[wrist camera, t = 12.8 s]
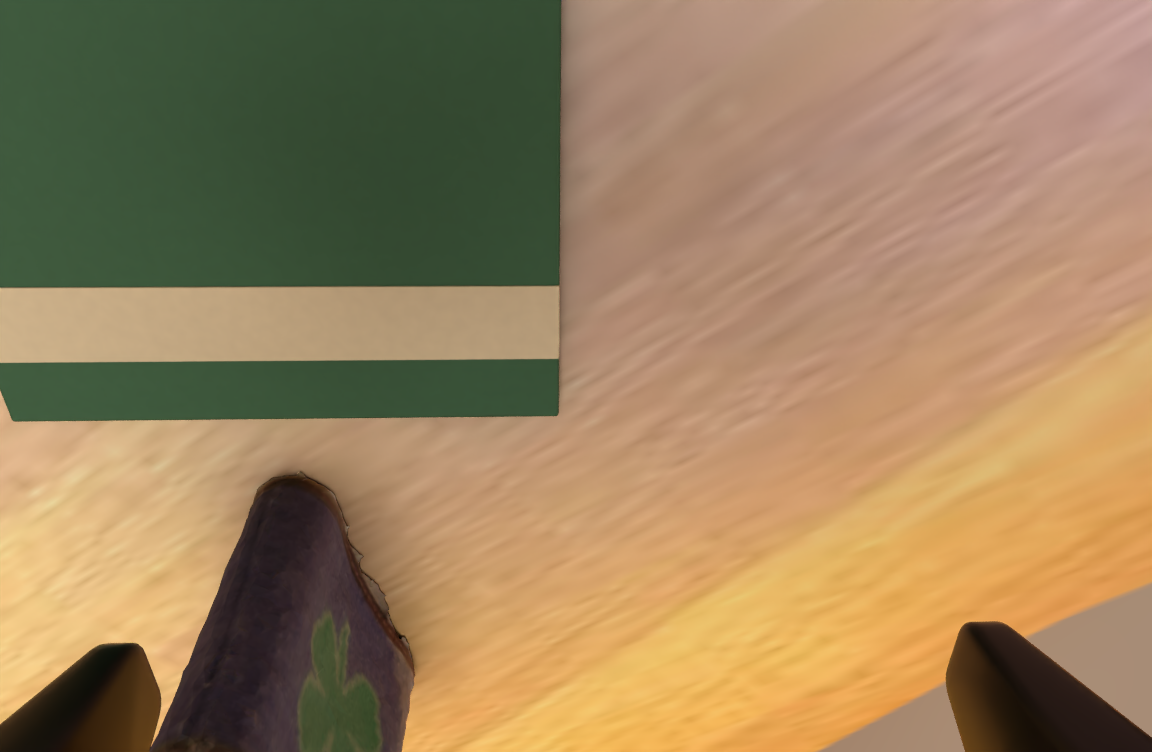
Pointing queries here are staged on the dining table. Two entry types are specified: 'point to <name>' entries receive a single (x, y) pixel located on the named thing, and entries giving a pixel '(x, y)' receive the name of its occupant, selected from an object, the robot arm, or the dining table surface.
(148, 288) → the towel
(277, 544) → the flask
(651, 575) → the dining table surface
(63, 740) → the robot arm
